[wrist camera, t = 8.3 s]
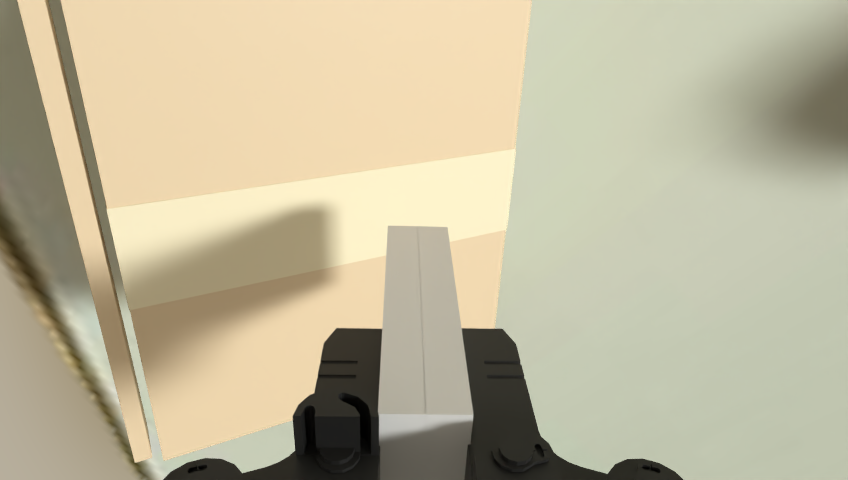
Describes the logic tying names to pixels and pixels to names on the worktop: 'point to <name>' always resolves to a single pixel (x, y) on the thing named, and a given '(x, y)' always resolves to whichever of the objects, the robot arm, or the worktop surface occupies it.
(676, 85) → the worktop surface
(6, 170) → the worktop surface
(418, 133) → the lid
